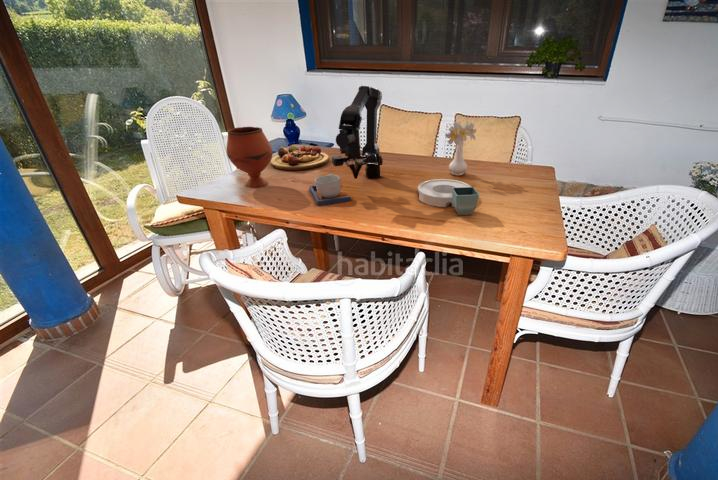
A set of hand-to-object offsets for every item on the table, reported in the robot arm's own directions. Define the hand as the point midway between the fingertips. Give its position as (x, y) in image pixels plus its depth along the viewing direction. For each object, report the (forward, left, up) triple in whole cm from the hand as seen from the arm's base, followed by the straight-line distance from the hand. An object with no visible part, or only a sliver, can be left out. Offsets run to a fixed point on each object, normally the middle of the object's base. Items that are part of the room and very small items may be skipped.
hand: (355, 178), depth 158 cm
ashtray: (-34, +21, -6) cm, 40 cm away
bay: (+12, 0, -6) cm, 13 cm away
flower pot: (-33, +39, -6) cm, 51 cm away
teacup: (+12, 0, -6) cm, 13 cm away
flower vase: (-55, -4, -6) cm, 55 cm away
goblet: (+41, -27, -6) cm, 50 cm away
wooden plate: (+17, -56, -6) cm, 59 cm away
